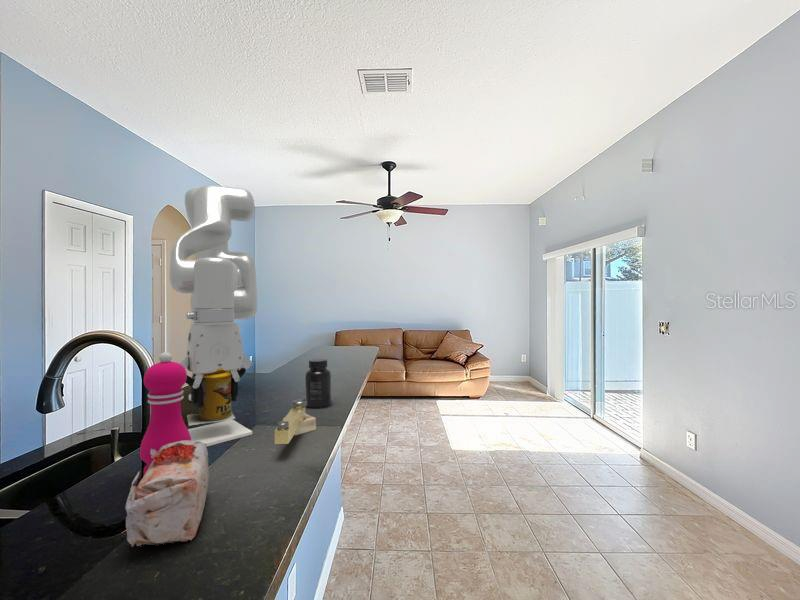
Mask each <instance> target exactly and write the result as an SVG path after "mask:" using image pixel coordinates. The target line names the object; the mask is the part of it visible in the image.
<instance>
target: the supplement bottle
mask: <svg viewBox="0 0 800 600" xmlns="http://www.w3.org/2000/svg"><path fill="white" fill-rule="evenodd" d="M327 367H328V359H325V358H313V359H309V360H308V368H309V369H308V370H306V372H305V374H304V393H305V394H304V396H305V398H304V399H305V400H307V406H308V408H309V407H313V408H312V409H322V408H326V407H330V406H331V404H332V373H331V370H329V369H328V368H327ZM307 406H306V407H307Z"/></svg>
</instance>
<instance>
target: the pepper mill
mask: <svg viewBox="0 0 800 600" xmlns="http://www.w3.org/2000/svg"><path fill="white" fill-rule="evenodd" d="M158 359H159V362H156V363H154V364H153V365H150V366H149V367H148V368H147V369H146V371H145V373H144V376H143V385H144V386H145V388H146V389H147V390H148V391H149V393H148V394H147V398H148V399H147V403H148V404H149V405H150V419H149V421H148V423H149V424H148V425H147V429H146V431H145V434H144V435H143V438H142V439H141V443H140V447H139V457H140V460H142V461H143V462H144V463H145V464H146V465H145V466H144V467H143V476H144V475H145V473H146V471H147V470H148V468H149V467H150V465H151V463H152V462H153V458H151V456H152V455H151V454H150V451H151V449H155V451H159V450H160V448H161V447H162V446H164V445H166V444H169V443H173V442H178V441H182V440H190V441H191V436H190V433H189V431H188V429H189V428H188V427H187V426H186V424H185V421H184V418H183V416H182V409H181V407H182V406H181V402H182V400H183V399H184V398H185V397H184V396H185V395H184V390H183V389H182V387H183V386H185V384H186V383H185V382H186V380H187V375H188V374H187V369H185V368H184V367H183V366H182V365H181V364H180V362H176V361H171V360H172V359H173V356H172V354H171V353H170V352H166V351H165V352H162V353H161V354H160V355H159V356H158Z"/></svg>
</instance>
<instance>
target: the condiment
mask: <svg viewBox="0 0 800 600" xmlns="http://www.w3.org/2000/svg"><path fill="white" fill-rule="evenodd" d="M221 365H222V364H219V365H218V366H221ZM200 387H201V388H202V407H201V408H198V409H199V413H191V414H186V418H187V424H188V427H189V426H190V427H191V426H195V425H196V426H197V425H201V424H202V425H203V424H209V423H210V424H211V423H218V422H223V421H227V420H231V419H232V420H235V419H236V417H235V415H234V413H233V412H232V402H233V401H231V373H230V371H224V369H223V368H219V369H217V370H216V372H214V373H210V374H204V375H203V378H202V380H201V383H200Z"/></svg>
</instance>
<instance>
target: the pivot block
mask: <svg viewBox="0 0 800 600" xmlns="http://www.w3.org/2000/svg"><path fill="white" fill-rule="evenodd" d="M316 430H317V418H316V417H315V416H313V415H310V414H308V413H305V418H304V419H303V421H302V423H301V424H300V426H299V427H298V429H297V431H296V432H295V434H294V435H293V436H299V435H302V434H306V433H309V432H312V431H316Z"/></svg>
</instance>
